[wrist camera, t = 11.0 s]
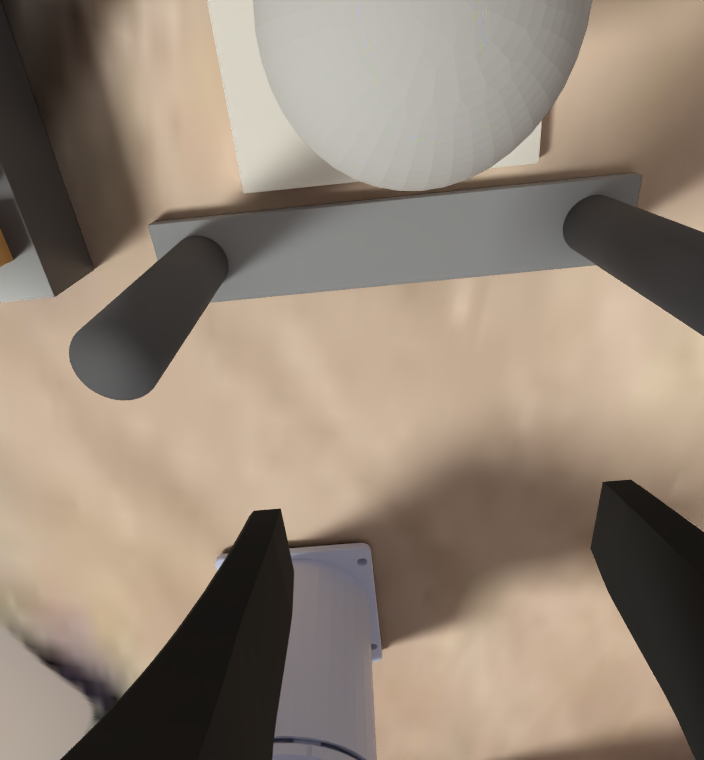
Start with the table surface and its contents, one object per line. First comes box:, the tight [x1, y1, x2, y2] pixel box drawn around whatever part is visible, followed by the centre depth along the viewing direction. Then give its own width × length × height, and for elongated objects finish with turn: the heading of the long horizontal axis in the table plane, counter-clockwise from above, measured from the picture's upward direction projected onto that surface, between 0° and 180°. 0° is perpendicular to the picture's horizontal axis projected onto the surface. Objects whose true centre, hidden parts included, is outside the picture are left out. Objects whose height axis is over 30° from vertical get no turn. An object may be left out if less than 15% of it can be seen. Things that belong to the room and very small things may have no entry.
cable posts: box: [69, 173, 704, 400], centre depth 15 cm, size 3×17×8 cm, turn 95°
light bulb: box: [253, 0, 592, 191], centre depth 11 cm, size 6×6×10 cm
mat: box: [207, 0, 542, 194], centre depth 16 cm, size 8×10×1 cm
